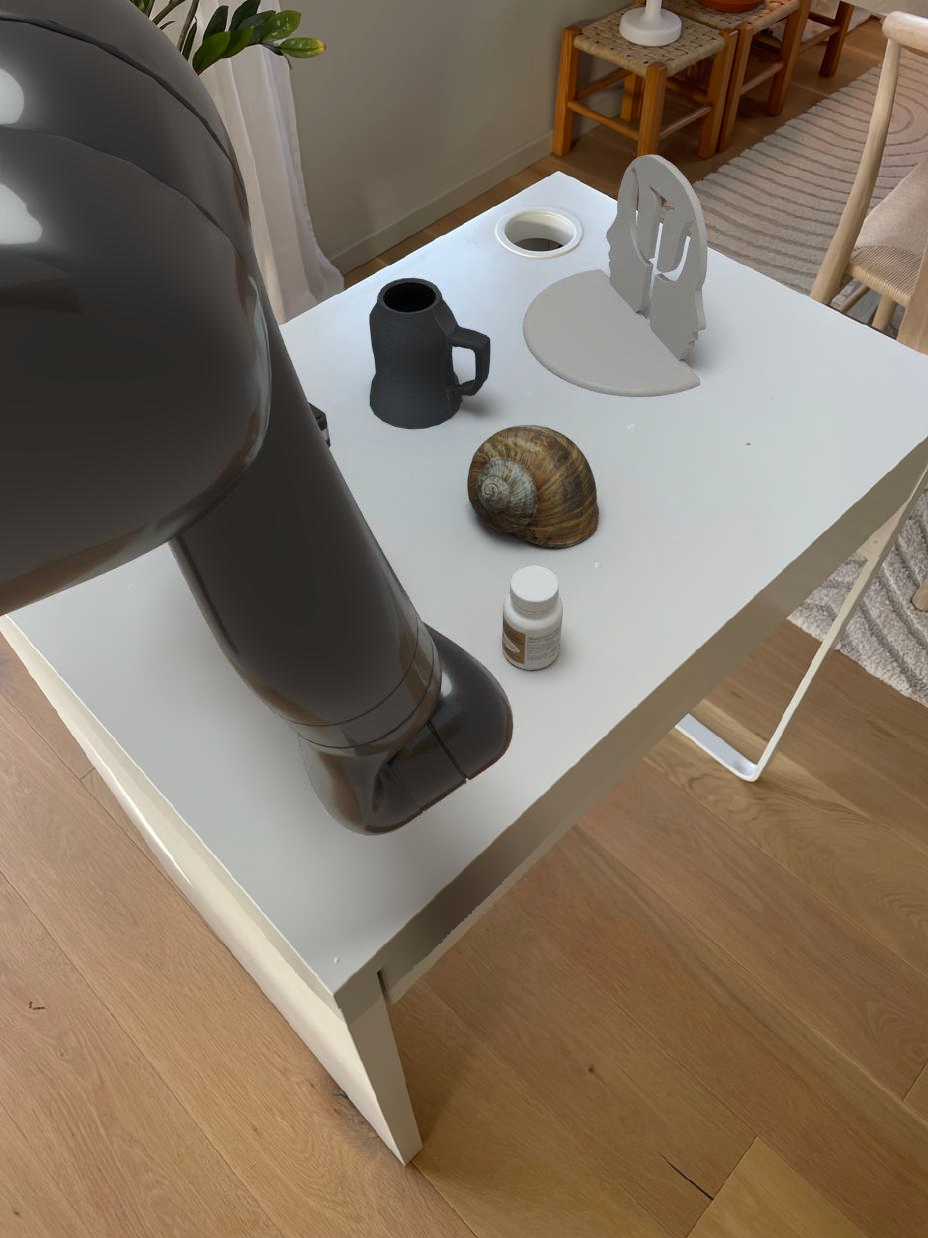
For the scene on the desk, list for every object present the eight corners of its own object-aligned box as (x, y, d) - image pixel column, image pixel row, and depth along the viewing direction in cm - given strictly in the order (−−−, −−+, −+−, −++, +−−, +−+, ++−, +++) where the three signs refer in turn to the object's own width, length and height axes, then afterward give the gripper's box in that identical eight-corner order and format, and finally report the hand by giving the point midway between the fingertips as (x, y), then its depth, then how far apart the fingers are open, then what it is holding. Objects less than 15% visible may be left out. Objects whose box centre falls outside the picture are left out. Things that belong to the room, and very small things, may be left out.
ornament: (703, 385, 93) (739, 223, 80) (581, 419, 90) (598, 257, 77) (600, 270, 106) (617, 114, 93) (490, 297, 103) (491, 140, 90)
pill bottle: (494, 634, 74) (495, 568, 68) (547, 620, 75) (552, 554, 69) (512, 678, 72) (515, 613, 66) (567, 663, 73) (575, 598, 67)
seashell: (448, 529, 82) (446, 458, 75) (496, 462, 87) (497, 391, 80) (570, 573, 78) (578, 503, 72) (612, 501, 83) (623, 430, 77)
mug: (352, 414, 91) (339, 311, 82) (394, 360, 96) (386, 257, 88) (467, 446, 88) (466, 343, 79) (504, 389, 93) (507, 286, 84)
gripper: (379, 445, 56) (266, 304, 66) (144, 536, 52) (59, 371, 61) (389, 534, 62) (284, 393, 71) (178, 622, 58) (96, 460, 67)
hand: (180, 384), depth 66 cm, fingers closed on supplement bottle, 4 cm apart
